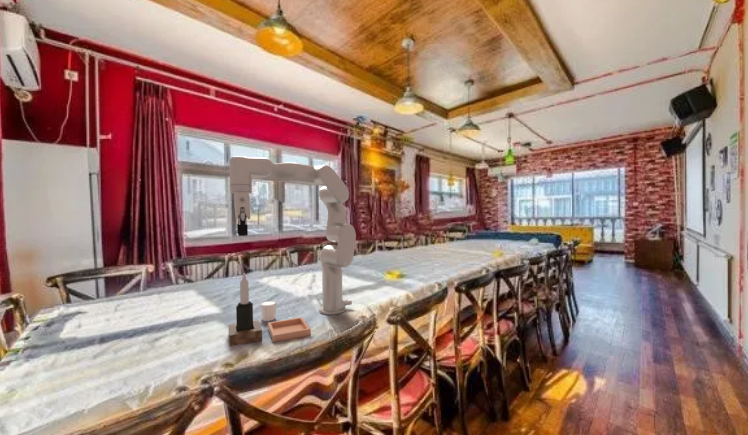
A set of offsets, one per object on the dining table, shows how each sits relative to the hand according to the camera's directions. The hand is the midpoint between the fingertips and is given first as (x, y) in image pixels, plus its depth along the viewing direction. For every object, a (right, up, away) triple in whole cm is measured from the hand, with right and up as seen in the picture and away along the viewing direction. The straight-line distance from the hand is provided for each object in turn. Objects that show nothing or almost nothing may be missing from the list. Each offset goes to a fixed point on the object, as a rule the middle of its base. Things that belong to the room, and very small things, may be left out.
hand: (242, 234), depth 117 cm
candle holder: (+1, -40, 0) cm, 40 cm away
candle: (+1, -40, 0) cm, 40 cm away
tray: (+16, -39, +6) cm, 43 cm away
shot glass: (+3, -39, +20) cm, 44 cm away
